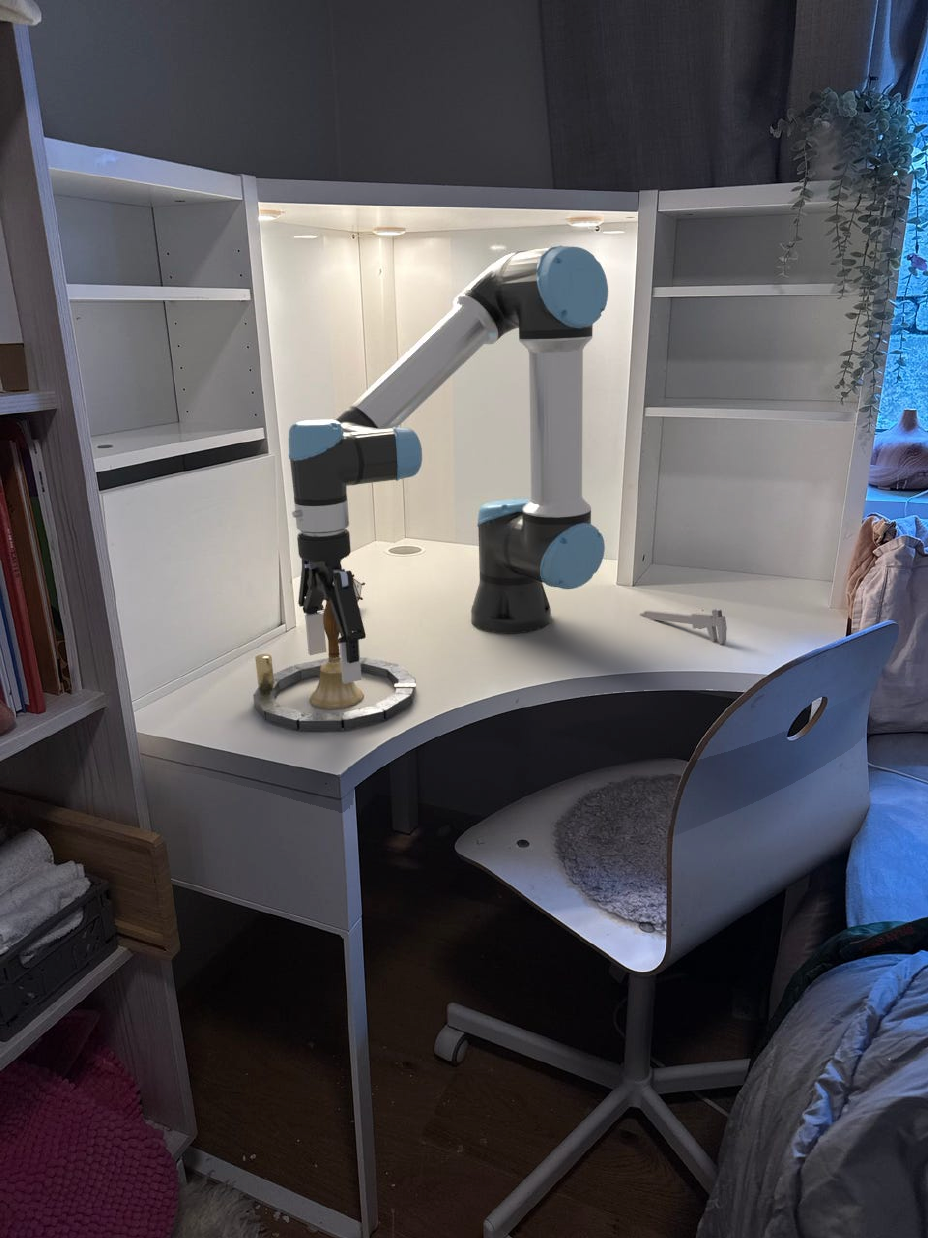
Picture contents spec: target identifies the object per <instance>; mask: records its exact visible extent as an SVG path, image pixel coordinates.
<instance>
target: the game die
mask: <svg viewBox="0 0 928 1238" xmlns="http://www.w3.org/2000/svg"><path fill="white" fill-rule="evenodd" d="M342 569H343V572H344V571H346V569H345V568H342ZM352 577H353V586H354V590H355V594H356V598H357V602H358V603H359V601H360V600H361V601H363V600H364V597H362V596H361V593H362V589H363V588H362V587H363V586H365V585H366V582H362V583H361V582H360V581H359V580H358V579H355V574H354V573H352ZM324 601H326V600H325V598H324V599H323V602H324Z"/></svg>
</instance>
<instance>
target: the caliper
mask: <svg viewBox="0 0 928 1238" xmlns="http://www.w3.org/2000/svg"><path fill="white" fill-rule="evenodd" d="M639 616H641V617H644V618H646V619H648V620H655V621H662V622H663V621H664V622H671V623H672V622H673V623H680V624H688V625H692V628H693V629H698V630H702V629H705V628H706V630H707V633H708V636H709V639H710V642H711V643H713V644H715V643H717V642H719V643H718V645H724V644H725V643H726V642H727V641H726V640H727V631H728V630H727V629H728V628H727V622H726V621H727V620H726V616H724V615H723V612H722V609H719V610H717V609H716V608H715V609H713V610H711V614H710V613H709V614H707V613H699V612H698V613H697V612H695V613H691V614H686V613H676V612H668V611H659V610H651V609H650V610H649V609H647V610H645V611H643V612H642V613H639Z"/></svg>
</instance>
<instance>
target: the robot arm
mask: <svg viewBox="0 0 928 1238" xmlns="http://www.w3.org/2000/svg"><path fill="white" fill-rule="evenodd" d="M608 283H609V282H608V278H607V275H606V272H605V270H604V268H603V266H602V264H601V263H600V261H598V260H597V258H596V257H595V255H594V254H592V253H591V252H590V251H588V250H587V249H584V248H582V247H579V246H565V245H564V246H563V245H557V246H551V247H546V248H545V247H544V248H539V249H532V250H531V249H530V250H522V251H521V250H519V251H514V252H512V253H510V254H508V255H507V254H506V255H505V256H503V257H502V258H500V259H498V260H497V261H496V262H494V263H493V264H491V265H490V266H489V267H488V268H487V269H485V270H484V271H483V272H482V273H480V275H479V276H478V277H476V278H475V279H474V280H473V281H472V282H471V283H470V284H469V285H468V286H466V287H465V288H464V289H463V291H462V292H460V293H459V294H458V295H457V296H456V297H455V298H454V300H453V308H452V310H450V311H449V312H448V313H447V315H445V316H444V317H443V318H442V319H441V320H440V321H439V322H437V324H436V325H435V326H434V327H433V328H432V329H431V330H430V331H429V332H427V333H426V334H425V335H424V336H423V337H422V338H421V339H420V340H419V341H418V342H417V343H416V344H415V345H414V346H413V347H411V348H410V349H409V351H407V352H406V353H405V354H404V355H403V356H402V357H401V358H400V359H399V360H398V361H397V362H395V364H393V366H391V367H390V368H389V369H387V371H386V372H385V373H384V374H383V375H382V376H381V377H380V378H379V379H378V380H377V381H376V382H374V384H372V385H371V386H370V387H369V388H368V389H367V390H366V391H365V392H364V393H363V394H362V395H361V396H360V397H358V399H357V400H355V402H353V403H352V404H351V405H350V406H349V407H348V408H347V409H346V410H345V411H343V413H342V414H340V415H339V416H338V417H337V418H332V419H313V420H312V419H310V420H308V419H307V420H302V421H297V422H295V423H293V424H292V425H291V426H290V427H289V430H288V459H289V463H290V465H289V466H290V473H291V481H292V489H293V500H294V501H293V502H294V510H293V511H292V512H291V516H292V518H294V519H295V521H296V522H295V524H296V525H295V526H296V528H297V529H296V530H298V531H299V532H298V533H297V535H296V538H297V550H298V551H297V552H298V556H299V558H300V559H301V572H300V581H299V582H300V583H299V590H298V591H299V592H298V602H297V603H298V606H299V607H302V612H303V614H304V618H305V628H306V639H307V640H306V641H307V651H308V655H309V656H314V655H319V654H322V653H323V654H324V653H327V646H326V645H327V644H326V643H327V642H326V633H325V629H324V624H323V614H324V612H322V611H324V610H325V608H324V605H323V602H324V601H329V603H330V606H331V608H332V611H333V614H334V617H335V620H336V623H337V626H338V629H339V632H340V633H339V636H340V637H339V638H338V643H339V652H340V655H339V656H340V658H341V671H342V682H343V683H344V684H346V683H350V682H354V683H355V682H358V681H362V672H361V666H360V658H361V655H360V654H361V653H360V641H359V640H364V639H366V636H367V635H366V632H365V631H366V630H365V627H364V626H365V625H364V623H363V619H362V614H361V611H360V607H359V601H358V602H357V598H356V594H355V590H354V586H353V578H354V577H352V575H353V572H352V570H345V571H344V572H343V569H344V568H343V567H342V560H343V559H345V558H348V557H349V556H350V554H351V551H352V549H351V537H350V532H349V530H348V529H347V528H348V527H349V525H350V518H349V503H348V502H349V501H348V494H347V488H348V487H347V486H355V485H364V484H371V483H372V484H373V483H381V482H388V481H400V480H402V479H407V478H411V477H414V476H416V475H417V474H418V472H419V471H420V469H421V467H422V463H423V448H422V443H421V441H420V439H419V436H418V434H417V433H416V432H415V431H414V430H413V429H412V428H410V427H405V426H404V427H400V426H401V425H402V424H403V422H405V421H406V420H407V419H408V418H409V417H410V416H411V415H412V414H413V413H414V412H416V410H417V409H418V408H419V407H421V405H422V404H423V403H425V401H426V400H428V399H429V397H431V396H432V395H433V394H434V393H435V392H436V391H437V390H438V389H439V388H440V387H441V386H442V385H444V383H445V382H446V381H447V380H448V379H450V377H452V375H453V374H455V372H457V371H458V370H459V369H460V368H461V367H462V366H464V364H465V363H466V362H468V360H470V358H472V356H474V355H475V354H476V353H477V352H478V351H479V350H480V349H481V348H482V347H483V346H484V345H493V344H495V343H496V342H497V341H498V340H499V339H500V338H502V337H503V336H504V335H505V334H508V333H509V332H511V331H513V330H516V329H518V339H519V342H520V343H521V344H522V345H523V346H524V348H525V349H527V351H528V371H529V372H528V373H529V374H528V375H529V376H528V377H529V378H528V379H529V381H528V382H529V430H530V431H529V440H530V441H529V442H530V443H529V445H530V448H529V449H530V450H529V451H530V454H529V455H530V459H529V460H530V498H522V497H521V498H511V499H502V500H495V501H491V502H490V501H489V502H487V503H484V504H483V505H481V506H480V508H479V510H478V517H477V528H478V530H477V531H478V563H479V564H478V566H479V568H478V569H479V583H478V586H477V590H476V592H475V597H474V600H473V603H472V606H471V609H470V617H471V618H470V619H471V623H472V625H474V626H475V627H477V629H481V630H484V631H486V632H487V631H488V632H492V633H493V632H494V633H503V634H515V633H517V634H518V633H528V632H533V631H537V630H539V629H540V630H541V629H543V628H545V627H546V626H547V625H549V624H550V623H551V622H552V621H551V620H552V612H551V611H552V608H551V606H550V602H549V600H548V599H549V598H548V597H547V594H546V590H545V587H544V584H545V585H546V586H548V587H552V588H557V589H558V588H559V589H562V590H574V589H578V588H579V587H582V586H584V585H585V584H586V583H588V582H590V580H591V579H592V578H593V576H594V574H597V572H598V571H599V569H600V568H601V565H602V562H603V559H604V556H605V549H606V547H605V540H604V536H603V534H602V533H601V532H600V531H599V529H598V528H597V527H596V526H594V525H593V524H592V507H591V505H590V504H589V503H588V502H587V501H586V500H585V499H584V497H583V390H584V389H583V372H584V371H583V368H584V367H583V366H584V365H583V363H584V362H583V359H584V358H583V356H584V353H583V352H584V348H585V347H586V346H587V345H588V344H589V342H590V341H591V340H592V339H593V327H594V326H593V324H595V323H596V322H597V321H598V320H600V318H601V317H602V313H603V312H604V311H605V310H606V307H607V303H608V299H609V284H608ZM324 598H325V600H324V601H323V599H324Z"/></svg>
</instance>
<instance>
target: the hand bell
mask: <svg viewBox="0 0 928 1238" xmlns="http://www.w3.org/2000/svg"><path fill="white" fill-rule="evenodd" d="M325 601H326V600H325ZM323 624H324V630H325V636H326V638H327V642H328V646H327V648H328V655H327V656H328V658H329V661H328V662H327V663H325V664H323V665H322V666H321V667H320V675H319V677H318V678H319V680H318V683H317V686H316V689H315V690H314V691H312V693H311V694H310V696H309V702H310V704H311V705H312V706H314V707H316V708H320V709H323V710H340V709H341V710H342V709H346V708H351V707H354V706H356V705H358V704H359V703H361V702H362V701H363V700H364V697H365V695H364V693H363V691H362V690H361V688H359V687H358V686H357V685H356V684H355V681H354V682H350V683H346V684H344V683H343V682H342V671H341V661H340V645H339V643H338V639H339V638H340V632H339V629H338V626H337V623H336V620H335V617H334V614H333V611H332V608H331V606H330V603H329V601H326V603H325V608H324V610H323Z"/></svg>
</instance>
